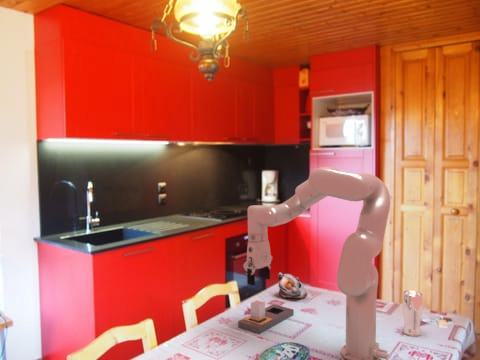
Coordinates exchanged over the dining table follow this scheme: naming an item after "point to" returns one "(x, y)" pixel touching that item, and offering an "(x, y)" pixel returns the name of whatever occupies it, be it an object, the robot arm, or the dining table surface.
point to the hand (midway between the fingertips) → (258, 281)
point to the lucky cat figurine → (291, 286)
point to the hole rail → (267, 319)
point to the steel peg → (258, 311)
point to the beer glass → (412, 312)
